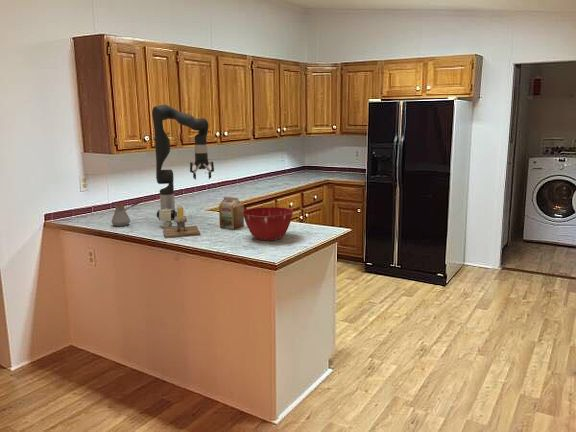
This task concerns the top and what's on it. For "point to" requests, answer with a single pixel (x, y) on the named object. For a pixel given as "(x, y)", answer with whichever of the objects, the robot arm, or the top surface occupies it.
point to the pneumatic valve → (166, 216)
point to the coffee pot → (122, 215)
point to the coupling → (180, 215)
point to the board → (177, 233)
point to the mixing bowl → (268, 222)
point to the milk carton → (231, 214)
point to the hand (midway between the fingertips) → (202, 179)
